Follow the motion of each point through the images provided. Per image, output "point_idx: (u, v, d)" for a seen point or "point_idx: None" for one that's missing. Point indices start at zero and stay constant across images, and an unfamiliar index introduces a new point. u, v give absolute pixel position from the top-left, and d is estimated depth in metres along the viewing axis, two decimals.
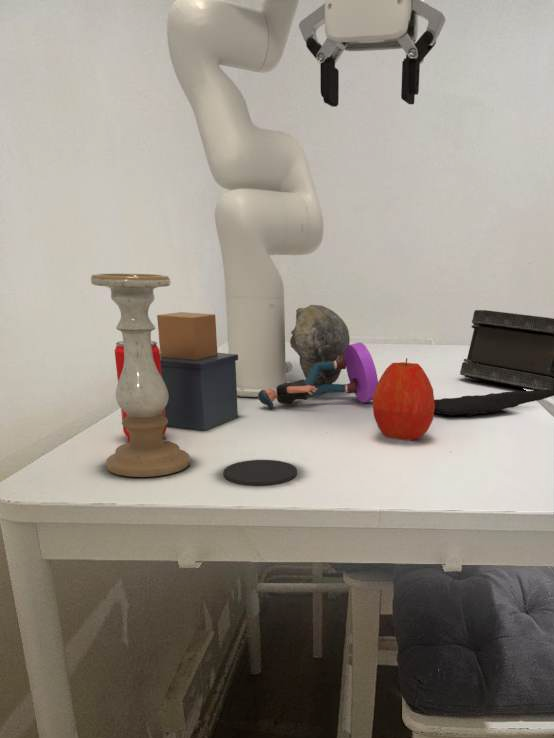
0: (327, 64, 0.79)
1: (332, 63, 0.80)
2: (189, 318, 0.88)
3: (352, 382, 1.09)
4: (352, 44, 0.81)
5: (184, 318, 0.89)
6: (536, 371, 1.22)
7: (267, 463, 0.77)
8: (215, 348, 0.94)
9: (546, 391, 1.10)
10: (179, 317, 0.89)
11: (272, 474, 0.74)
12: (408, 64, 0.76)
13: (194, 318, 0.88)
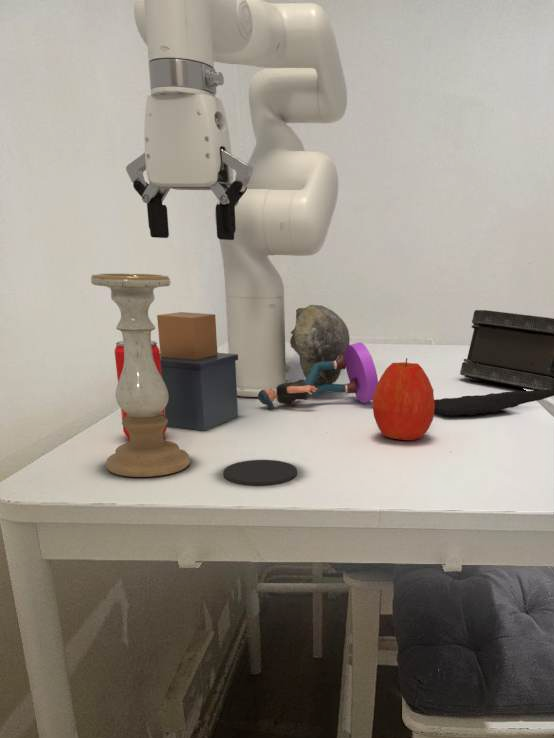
0: (151, 205, 0.86)
1: (158, 202, 0.87)
2: (189, 318, 0.88)
3: (352, 382, 1.09)
4: None
5: (184, 318, 0.89)
6: (536, 371, 1.22)
7: (267, 463, 0.77)
8: (215, 348, 0.94)
9: (546, 391, 1.10)
10: (179, 317, 0.89)
11: (272, 474, 0.74)
12: (221, 209, 0.84)
13: (194, 318, 0.88)
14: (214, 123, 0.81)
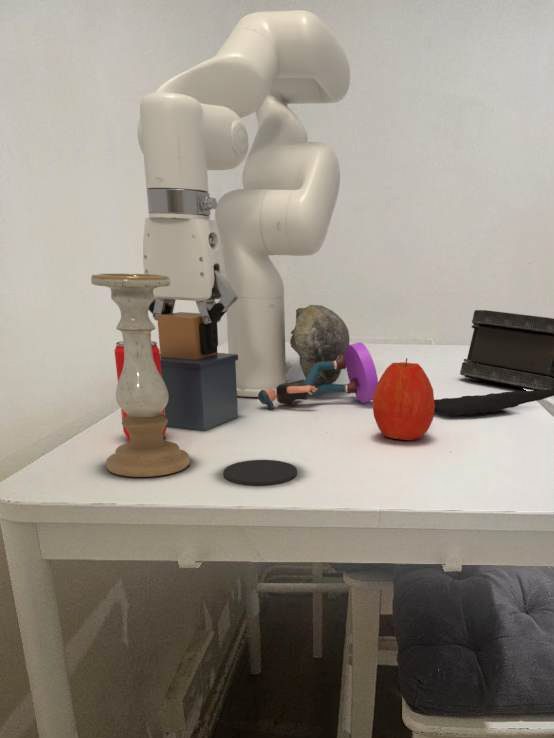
0: None
1: None
2: (189, 318, 0.88)
3: (352, 382, 1.09)
4: None
5: (184, 318, 0.89)
6: (536, 371, 1.22)
7: (267, 463, 0.77)
8: None
9: (546, 391, 1.10)
10: (179, 317, 0.89)
11: (272, 474, 0.74)
12: (204, 328, 0.90)
13: (194, 318, 0.88)
14: (208, 244, 0.86)
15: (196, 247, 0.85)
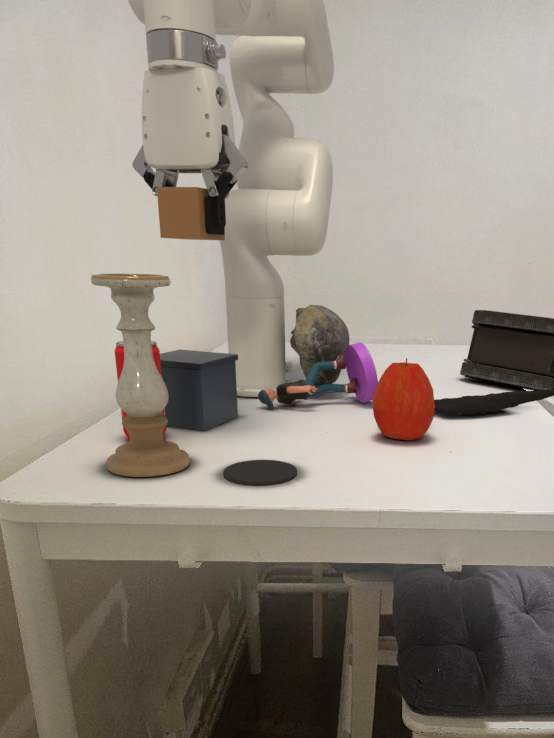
0: None
1: None
2: (193, 188, 0.78)
3: (352, 382, 1.09)
4: None
5: (187, 188, 0.78)
6: (536, 371, 1.22)
7: (267, 463, 0.77)
8: None
9: (546, 391, 1.10)
10: (182, 188, 0.78)
11: (272, 474, 0.74)
12: (209, 201, 0.79)
13: (198, 188, 0.78)
14: (215, 99, 0.75)
15: (201, 102, 0.75)
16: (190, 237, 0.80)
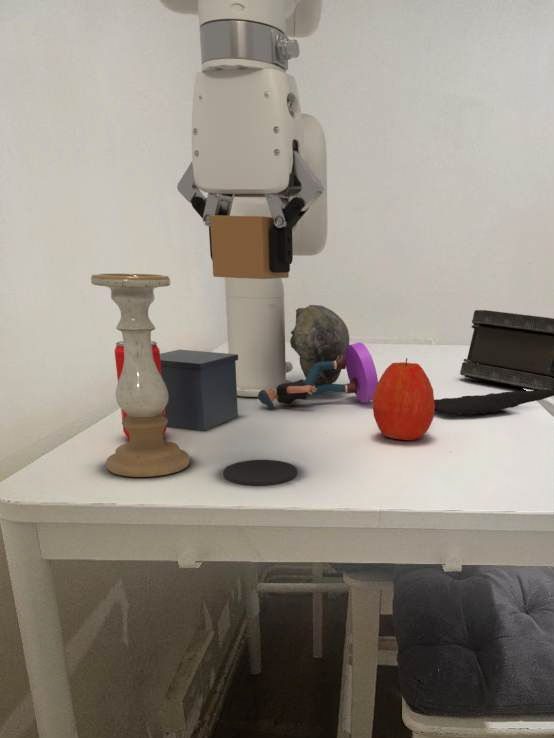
0: None
1: None
2: (256, 217, 0.63)
3: (352, 382, 1.09)
4: None
5: (249, 218, 0.63)
6: (536, 371, 1.22)
7: (267, 463, 0.77)
8: None
9: (546, 391, 1.10)
10: (242, 217, 0.63)
11: (272, 474, 0.74)
12: (275, 233, 0.64)
13: (263, 218, 0.63)
14: (286, 108, 0.60)
15: (270, 111, 0.60)
16: (251, 277, 0.65)
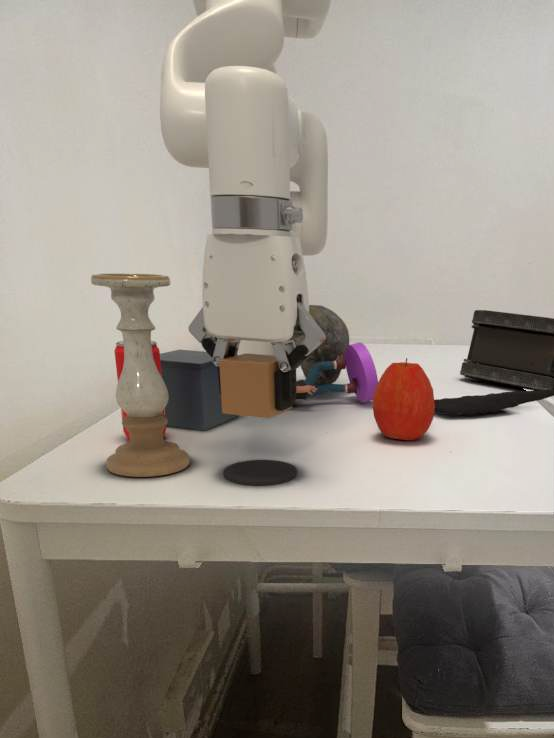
0: None
1: None
2: (263, 365, 0.67)
3: (352, 382, 1.09)
4: None
5: (256, 364, 0.67)
6: (536, 371, 1.22)
7: (267, 463, 0.77)
8: None
9: (546, 391, 1.10)
10: (249, 363, 0.68)
11: (272, 474, 0.74)
12: (280, 377, 0.69)
13: (269, 365, 0.67)
14: (291, 269, 0.65)
15: (276, 273, 0.64)
16: (257, 416, 0.69)
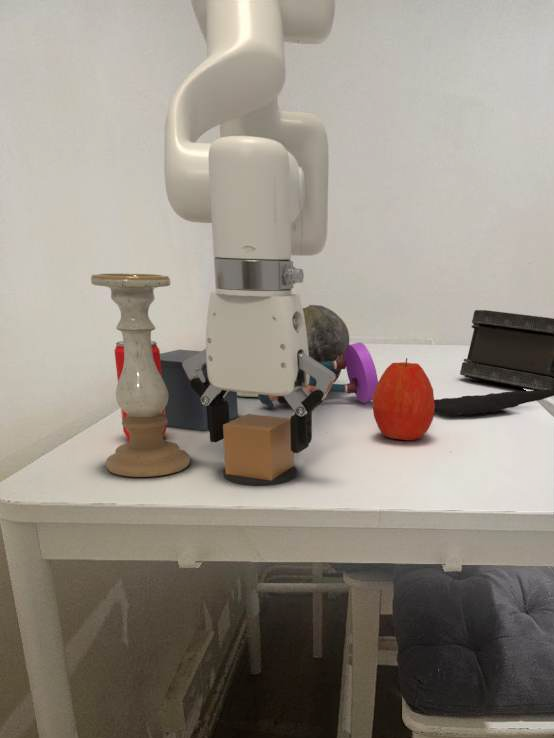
0: (212, 408, 0.72)
1: (219, 401, 0.74)
2: (265, 430, 0.70)
3: (352, 382, 1.09)
4: None
5: (258, 430, 0.70)
6: (536, 371, 1.22)
7: None
8: (291, 459, 0.76)
9: (546, 391, 1.10)
10: (252, 428, 0.70)
11: None
12: (296, 421, 0.70)
13: (271, 430, 0.70)
14: (292, 327, 0.67)
15: (277, 332, 0.66)
16: (260, 478, 0.72)
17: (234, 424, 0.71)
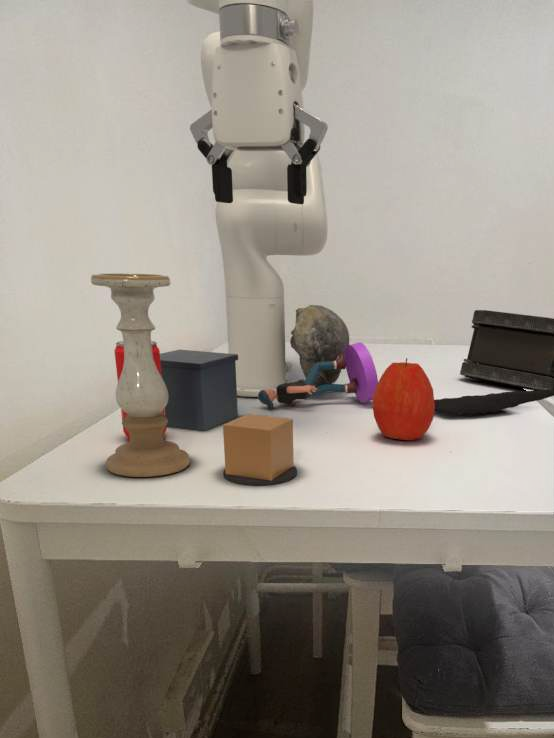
0: (217, 166, 0.81)
1: (223, 164, 0.82)
2: (265, 430, 0.70)
3: (352, 382, 1.09)
4: None
5: (258, 430, 0.70)
6: (536, 371, 1.22)
7: None
8: (291, 459, 0.76)
9: (546, 391, 1.10)
10: (252, 428, 0.70)
11: None
12: (293, 169, 0.78)
13: (271, 430, 0.70)
14: (288, 76, 0.75)
15: (275, 78, 0.75)
16: (260, 478, 0.72)
17: (234, 424, 0.71)
